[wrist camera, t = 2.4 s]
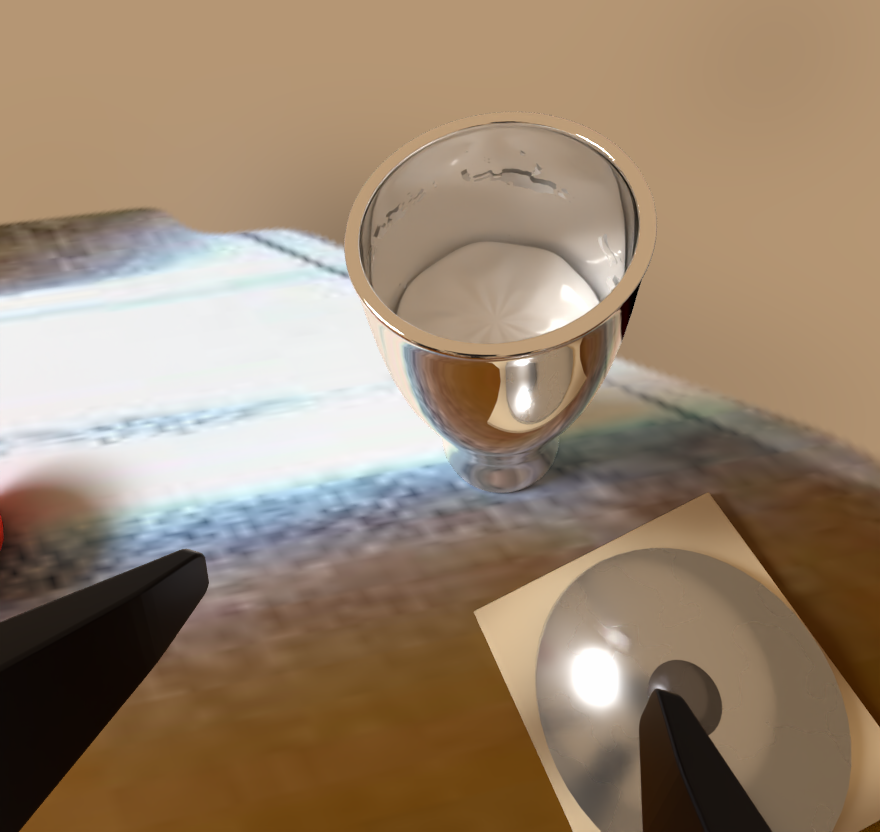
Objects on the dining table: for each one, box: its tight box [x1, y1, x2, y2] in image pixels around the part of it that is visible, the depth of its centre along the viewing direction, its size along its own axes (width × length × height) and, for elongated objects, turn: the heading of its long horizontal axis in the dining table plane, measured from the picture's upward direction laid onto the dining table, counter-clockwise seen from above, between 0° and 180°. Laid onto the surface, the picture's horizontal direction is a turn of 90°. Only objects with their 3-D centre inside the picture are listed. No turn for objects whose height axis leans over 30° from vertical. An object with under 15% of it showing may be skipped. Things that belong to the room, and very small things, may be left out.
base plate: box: [474, 492, 880, 832], centre depth 18 cm, size 12×12×1 cm
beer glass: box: [344, 112, 657, 493], centre depth 16 cm, size 7×7×15 cm
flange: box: [535, 548, 851, 832], centre depth 17 cm, size 11×11×1 cm
